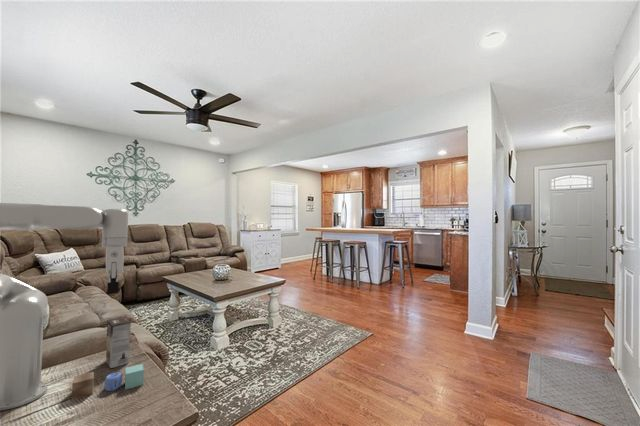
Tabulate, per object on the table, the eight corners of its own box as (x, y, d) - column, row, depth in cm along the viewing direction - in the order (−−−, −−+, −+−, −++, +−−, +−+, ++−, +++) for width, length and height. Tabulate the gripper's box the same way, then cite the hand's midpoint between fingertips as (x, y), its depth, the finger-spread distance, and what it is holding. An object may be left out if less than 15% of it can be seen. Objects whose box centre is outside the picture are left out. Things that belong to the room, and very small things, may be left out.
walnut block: (71, 400, 87) (72, 383, 87) (73, 392, 91) (74, 376, 91) (92, 394, 89) (93, 378, 90) (93, 387, 94) (94, 371, 94)
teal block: (125, 389, 92) (125, 374, 92) (124, 382, 96) (125, 367, 96) (143, 384, 95) (143, 369, 95) (142, 378, 99) (142, 363, 99)
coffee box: (105, 360, 112) (106, 319, 112) (124, 355, 116) (125, 316, 117) (109, 368, 105) (111, 325, 106) (130, 363, 110) (131, 321, 111)
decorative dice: (103, 392, 91) (104, 379, 91) (107, 385, 94) (108, 373, 94) (118, 389, 92) (119, 377, 92) (122, 383, 96) (122, 371, 96)
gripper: (128, 243, 100) (126, 295, 99) (126, 241, 112) (124, 288, 111) (101, 244, 95) (98, 298, 94) (102, 242, 107) (100, 290, 106)
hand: (112, 292), depth 102 cm, fingers closed
